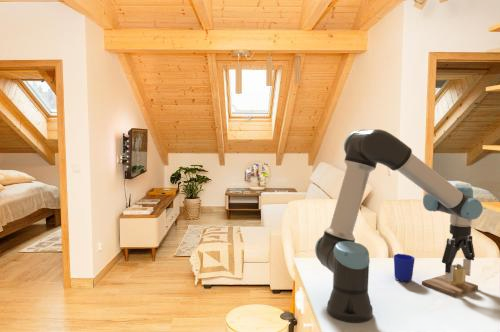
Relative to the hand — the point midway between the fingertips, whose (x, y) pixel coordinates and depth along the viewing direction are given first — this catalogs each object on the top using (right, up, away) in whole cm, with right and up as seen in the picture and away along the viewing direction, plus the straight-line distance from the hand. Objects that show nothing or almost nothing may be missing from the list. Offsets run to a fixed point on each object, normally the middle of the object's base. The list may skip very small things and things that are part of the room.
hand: (457, 277), depth 154 cm
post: (0, -3, 0) cm, 3 cm away
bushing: (0, -3, 0) cm, 3 cm away
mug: (-19, -4, +10) cm, 22 cm away
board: (-3, -4, +1) cm, 5 cm away
